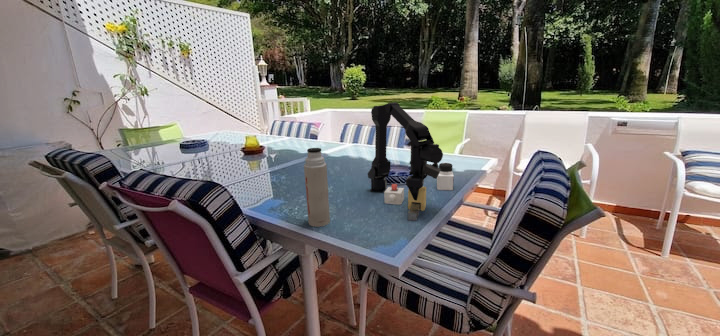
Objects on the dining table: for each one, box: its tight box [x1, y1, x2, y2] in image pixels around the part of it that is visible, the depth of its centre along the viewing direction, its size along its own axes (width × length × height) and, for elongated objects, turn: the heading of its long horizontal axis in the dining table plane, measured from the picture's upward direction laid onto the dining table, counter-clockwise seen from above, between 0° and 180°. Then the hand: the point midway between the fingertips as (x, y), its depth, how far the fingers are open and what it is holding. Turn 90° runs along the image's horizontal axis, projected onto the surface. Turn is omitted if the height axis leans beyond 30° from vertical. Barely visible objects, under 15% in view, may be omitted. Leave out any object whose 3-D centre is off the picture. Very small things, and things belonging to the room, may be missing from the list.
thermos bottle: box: [303, 147, 331, 228], centre depth 113 cm, size 8×8×28 cm
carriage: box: [407, 186, 427, 212], centre depth 126 cm, size 6×5×8 cm
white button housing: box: [383, 186, 405, 205], centre depth 134 cm, size 7×7×5 cm
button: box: [391, 183, 398, 190], centre depth 133 cm, size 2×2×2 cm
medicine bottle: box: [436, 162, 455, 191], centre depth 148 cm, size 7×7×12 cm
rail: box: [407, 202, 421, 222], centre depth 123 cm, size 3×16×3 cm, turn 161°
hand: (417, 196), depth 126 cm, fingers open, 9 cm apart
